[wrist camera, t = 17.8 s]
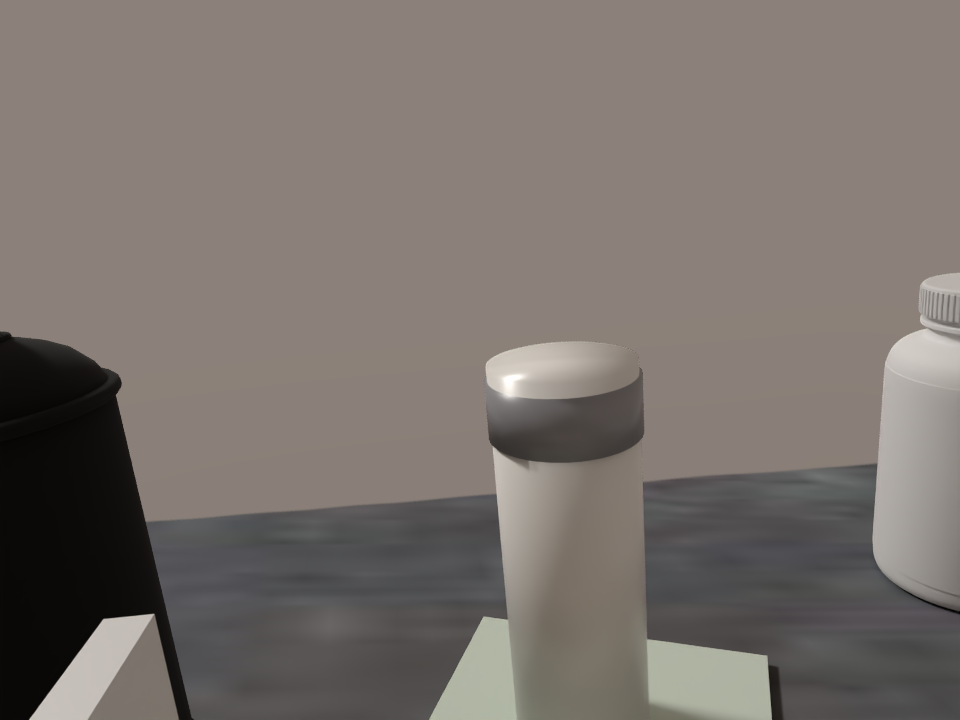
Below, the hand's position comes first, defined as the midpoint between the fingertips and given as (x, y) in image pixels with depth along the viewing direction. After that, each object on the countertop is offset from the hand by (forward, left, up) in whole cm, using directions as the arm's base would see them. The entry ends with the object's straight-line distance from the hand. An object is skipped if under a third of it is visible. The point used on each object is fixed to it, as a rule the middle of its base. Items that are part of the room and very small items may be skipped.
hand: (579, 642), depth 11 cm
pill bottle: (+13, +27, -14) cm, 34 cm away
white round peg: (-3, +12, -14) cm, 19 cm away
